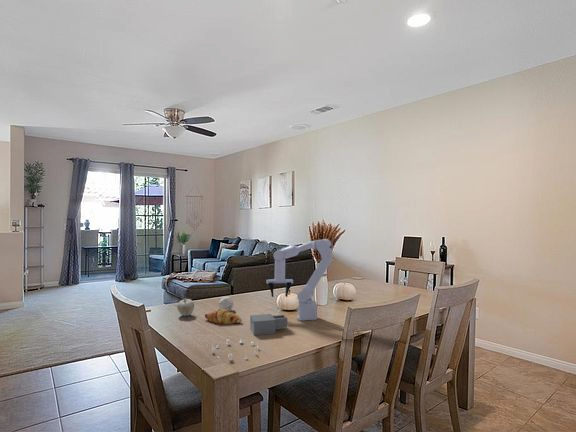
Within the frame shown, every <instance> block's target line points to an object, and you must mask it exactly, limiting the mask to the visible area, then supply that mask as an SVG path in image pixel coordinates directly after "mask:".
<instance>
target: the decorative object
mask: <svg viewBox="0 0 576 432" xmlns="http://www.w3.org/2000/svg"><path fill="white" fill-rule="evenodd" d="M194 310H195V303H194V301H193V300H192V299H191V298H186V297H184V298H183V299H181V300H180V301H178V303H177V311H178V314H180V315H181V316H183V317H189V316H190V315H192V313H193V312H194Z"/></svg>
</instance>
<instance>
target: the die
mask: <svg viewBox="0 0 576 432" xmlns="http://www.w3.org/2000/svg"><path fill="white" fill-rule="evenodd" d="M217 304H218V307H219V309H225V310H227V311H228V312H232V309H233V307H234V305H235V304H234V301H233V299H232V296H222V297H221V298H220V300H219V302H218V303H217Z"/></svg>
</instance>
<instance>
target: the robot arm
mask: <svg viewBox="0 0 576 432" xmlns="http://www.w3.org/2000/svg"><path fill="white" fill-rule="evenodd" d="M333 246H334V245H333V244H332V241H331V240H330V239H329V238H323V239H317V240H312V241H308V242H305V243H303V244H301V245H298V246H297V245H295V244H290V245H288V246H287V247H281V249H277V250H275V251H274V253H273V256H272V257H273V258H274V278H273V279H266V282H265V283H266V284H268V287H269V290H270V295H271V298H274V284H285V297H286V298H288V295H289V293H290V289H291V287H292V284H294V279H293V278H286V259H290V258H293V257H296V256H298V255H299V253H300V252H304V251H307V250H310V249H312V250H317V251H318V253H319V255H320V258H321V260H320V261H319V262H318V264H317V266H316V268H315V270H314V271H313V273H312V275H311V276H310V278H309V279H308V281H307V283H306V284H305V285H304V286H303V288H302V289H301V290H300V291H298V293H297V294H296V295H297V300H298V315H296V318H297V319H299V321H302V322H303V321H314V320H318V306H317V302H316V300H313V299H312V298H313V297H314V291H315V289H316V287H317V285H318V284H319V282H320V280H321V279H322V278H323V277H324V274H325V272H326V271H327V269H328V268H329V266H330V264H331V263H332V261H333V249H334V247H333Z"/></svg>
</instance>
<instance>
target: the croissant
mask: <svg viewBox="0 0 576 432" xmlns="http://www.w3.org/2000/svg"><path fill="white" fill-rule="evenodd" d="M204 318H205V319H206V320H208V321H209V322H211V323H214V324H218V325H228V324H229V325H230V324H240V323H242V321H243V320H242V318H241V317H240V316H239V315H236V314H235V313H234V312H233V311H227V310H225V309H220V308H219V309H217V310H214V311H213V312H208V313H205V314H204Z"/></svg>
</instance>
